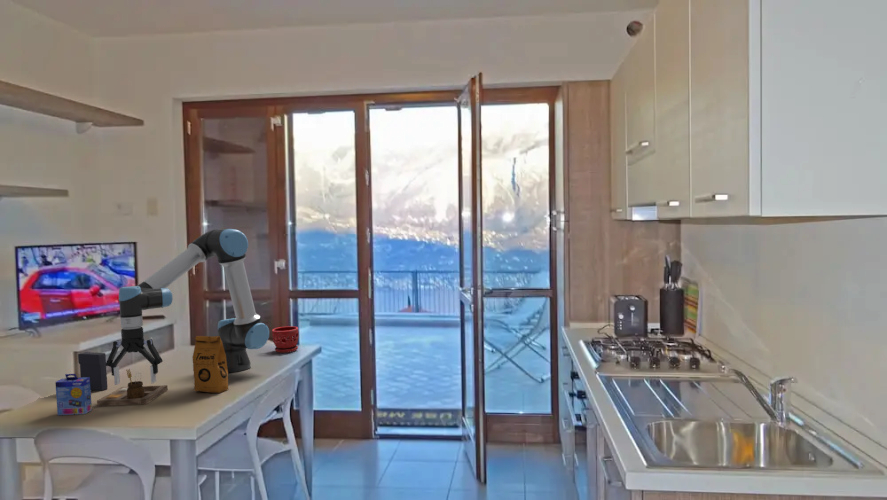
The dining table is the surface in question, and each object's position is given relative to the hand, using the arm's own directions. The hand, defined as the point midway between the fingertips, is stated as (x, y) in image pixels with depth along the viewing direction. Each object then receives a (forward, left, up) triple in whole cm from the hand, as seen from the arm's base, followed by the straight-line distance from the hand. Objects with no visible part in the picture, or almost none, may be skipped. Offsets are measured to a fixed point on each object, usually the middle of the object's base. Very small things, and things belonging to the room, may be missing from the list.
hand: (135, 383), depth 247 cm
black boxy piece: (+26, -21, -7) cm, 34 cm away
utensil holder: (0, 0, -7) cm, 7 cm away
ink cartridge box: (+16, +13, -7) cm, 22 cm away
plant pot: (-38, -87, -7) cm, 95 cm away
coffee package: (-25, -11, -7) cm, 28 cm away
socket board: (+3, -5, -7) cm, 9 cm away
